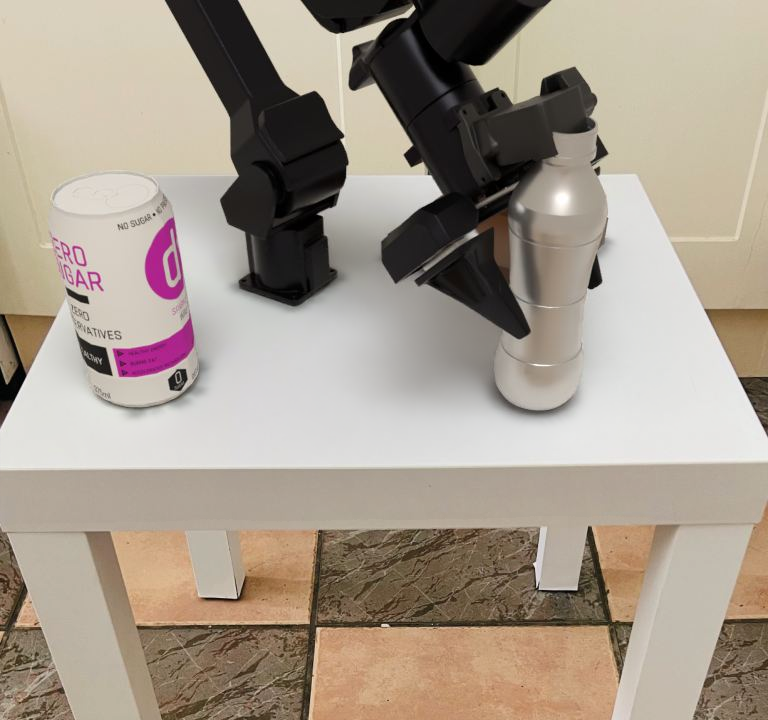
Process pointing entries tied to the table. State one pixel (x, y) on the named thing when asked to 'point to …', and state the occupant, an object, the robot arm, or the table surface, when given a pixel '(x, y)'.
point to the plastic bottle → (552, 271)
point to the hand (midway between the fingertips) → (562, 310)
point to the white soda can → (124, 286)
